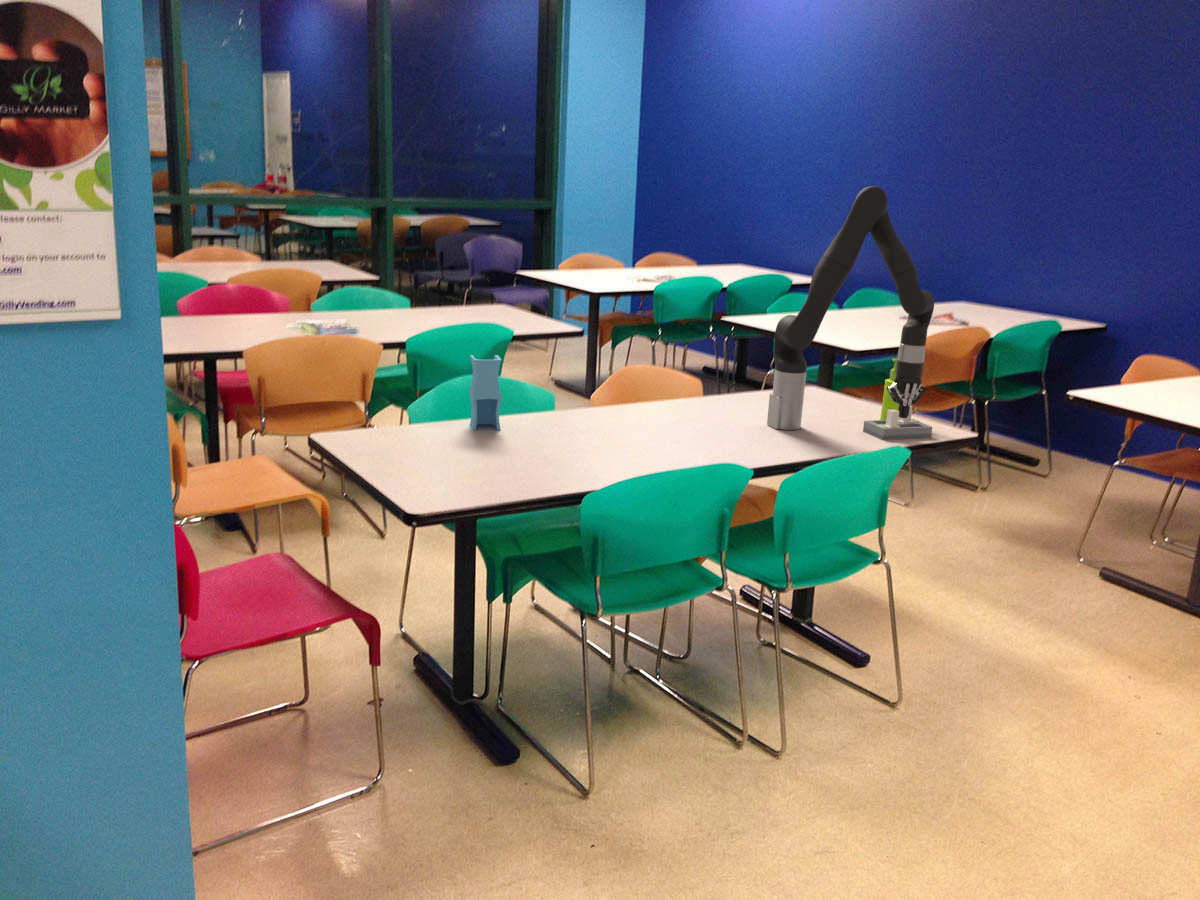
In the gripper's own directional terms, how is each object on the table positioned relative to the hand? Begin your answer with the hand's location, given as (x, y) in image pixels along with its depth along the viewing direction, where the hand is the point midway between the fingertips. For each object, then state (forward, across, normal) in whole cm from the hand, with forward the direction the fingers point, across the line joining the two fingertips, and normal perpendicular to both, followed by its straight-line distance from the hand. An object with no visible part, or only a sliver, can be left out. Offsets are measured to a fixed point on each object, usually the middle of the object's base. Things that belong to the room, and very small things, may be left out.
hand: (902, 417), depth 302 cm
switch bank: (+6, +1, +3) cm, 6 cm away
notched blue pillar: (+7, -119, +30) cm, 123 cm away
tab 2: (+4, +5, +5) cm, 8 cm away
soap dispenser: (+6, +8, +17) cm, 20 cm away
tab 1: (+5, -3, 0) cm, 6 cm away
